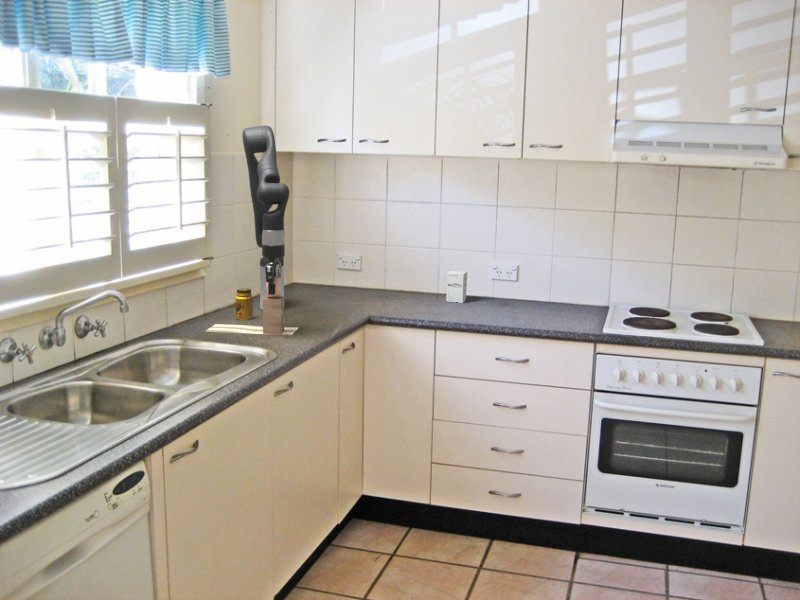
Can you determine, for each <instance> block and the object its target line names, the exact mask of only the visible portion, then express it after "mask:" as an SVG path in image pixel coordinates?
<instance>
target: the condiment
mask: <svg viewBox="0 0 800 600" xmlns="http://www.w3.org/2000/svg"><path fill="white" fill-rule="evenodd" d="M252 295H253V294H252V289H251V288H238V289H236V297H235V320H237V321H244V322H245V321H252V320H253V319H254V317H253V316H254V315H253V313H254V311H253V296H252Z"/></svg>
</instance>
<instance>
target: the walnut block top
mask: <svg viewBox="0 0 800 600" xmlns="http://www.w3.org/2000/svg"><path fill="white" fill-rule="evenodd" d="M283 314H284V315H285V295H284V296H266V297H265V298H263V310H262V317H263V316H268V317H281V316H282V315H283Z"/></svg>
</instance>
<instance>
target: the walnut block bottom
mask: <svg viewBox="0 0 800 600" xmlns="http://www.w3.org/2000/svg"><path fill="white" fill-rule="evenodd" d="M262 326H263V334H262V335H273V334H281V333H282V332H283V331H284V327H285V313H284V314H283V315H282V316H281V317H268V316H263V315H262Z"/></svg>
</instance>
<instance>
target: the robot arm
mask: <svg viewBox="0 0 800 600" xmlns="http://www.w3.org/2000/svg"><path fill="white" fill-rule="evenodd" d="M274 133H275V132H274V130H273V128H272V127H271V126H270V125H259V126H258V125H257V126H251V127H246V128H244V129H243V130H242V136H241V137H242V142H243V143H242V144H243V149H244V155H245V158H246V163H247V169H248V170H247V171H248V179H249V190H250V191H249V192H250V198H251V203H252V209H253V216H254V217H253V218H254V233H255V234H254V235H255V242H256V246H258V248H261V256H262V257H261V258H259V289H260V292H259V301H260V302H259V309H260V310H262V311H263V298H265V297H266V296H267V295H266V282H267V283H268V294H269V295H274V294H275V283H276V281H275V280H276V277H281V295H280V296H284V297H285V288H284V287H285V281H284V280H285V279H284V278H285V277H284V276H285V271H284V270H285V269H284V268H285V266H284V265H285V260H284V259H285V258H284V257H285V255H286V254H285V252H286V251H285V249H286V248H285V246H286V244H285V243H286V242H285V241H286V239H285V237H286V235H285V234H286V233H285V227H284V226H285V213H286V208H287V205H288V201H289V198H290V189H289V187H288V185H287V184H286V183H282V182H281V176H280V173H279V167H278V160H277V148H276V147H277V146H276V138H275V134H274ZM260 153H263V155H262V156H261V158H260V159H259V160H258V159H257V157H256V155H255V154H260ZM274 205H277V207H276V208H275V209H274V210H271V208H272V207H273V206H274ZM270 277H272V279H270Z"/></svg>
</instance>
